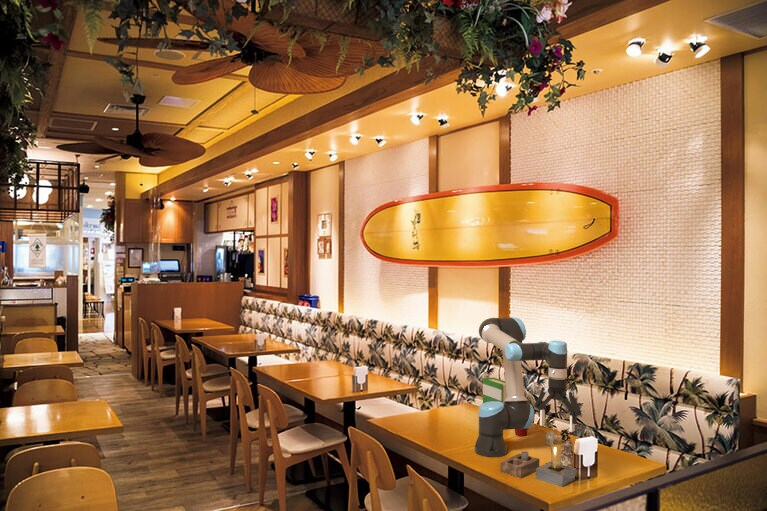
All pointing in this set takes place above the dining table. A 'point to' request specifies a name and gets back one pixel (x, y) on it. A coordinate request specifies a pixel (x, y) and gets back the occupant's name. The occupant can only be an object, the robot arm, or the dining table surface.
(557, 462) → the translucent yellow cylinder
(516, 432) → the plastic cup
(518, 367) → the robot arm
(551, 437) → the valve
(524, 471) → the box
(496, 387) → the hardback book
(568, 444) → the figurine
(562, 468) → the socket block
